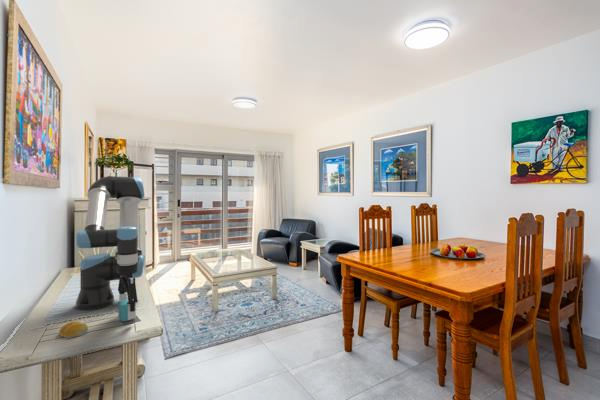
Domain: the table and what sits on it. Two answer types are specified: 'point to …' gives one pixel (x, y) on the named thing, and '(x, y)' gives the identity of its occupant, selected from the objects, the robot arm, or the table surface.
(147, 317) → the table surface
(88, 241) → the robot arm
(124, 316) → the teal toy brick
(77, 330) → the bread roll
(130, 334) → the table surface
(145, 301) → the table surface
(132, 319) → the panel
